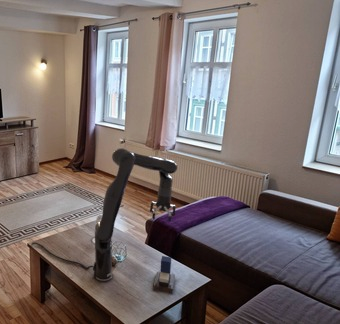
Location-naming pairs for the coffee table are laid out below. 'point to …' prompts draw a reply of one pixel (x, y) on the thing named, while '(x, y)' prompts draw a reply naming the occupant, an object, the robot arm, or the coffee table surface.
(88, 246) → the coffee table surface
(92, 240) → the female figurine
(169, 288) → the wooden base with rails
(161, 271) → the blue rectangular block
